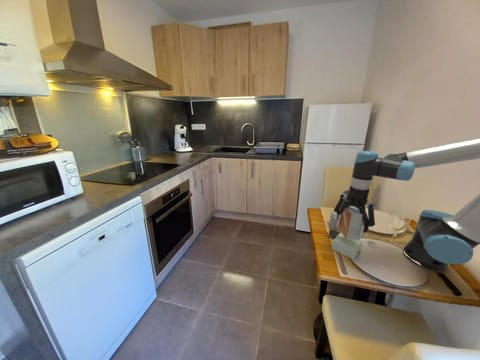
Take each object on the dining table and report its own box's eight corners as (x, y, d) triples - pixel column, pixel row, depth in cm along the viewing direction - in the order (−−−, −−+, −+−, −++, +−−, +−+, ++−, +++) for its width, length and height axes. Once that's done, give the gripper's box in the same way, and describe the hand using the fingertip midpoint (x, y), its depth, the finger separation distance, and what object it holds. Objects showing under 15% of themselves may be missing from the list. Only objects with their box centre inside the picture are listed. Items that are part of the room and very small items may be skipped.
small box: (338, 229, 97) (343, 205, 93) (351, 230, 97) (357, 206, 93) (345, 239, 90) (351, 213, 86) (360, 240, 89) (366, 214, 85)
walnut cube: (340, 236, 106) (342, 228, 104) (338, 240, 102) (339, 232, 101) (331, 233, 109) (332, 225, 107) (328, 237, 105) (329, 228, 104)
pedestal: (360, 250, 96) (362, 241, 94) (353, 259, 89) (355, 250, 88) (339, 240, 103) (340, 232, 101) (331, 249, 96) (332, 240, 94)
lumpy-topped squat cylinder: (346, 223, 119) (349, 210, 117) (352, 235, 107) (355, 221, 105) (328, 220, 122) (330, 208, 119) (331, 232, 110) (334, 218, 107)
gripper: (393, 194, 79) (379, 241, 86) (339, 178, 97) (332, 219, 104) (385, 197, 75) (371, 247, 82) (330, 181, 93) (323, 223, 100)
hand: (349, 231), depth 93 cm, fingers closed on small box, 10 cm apart
